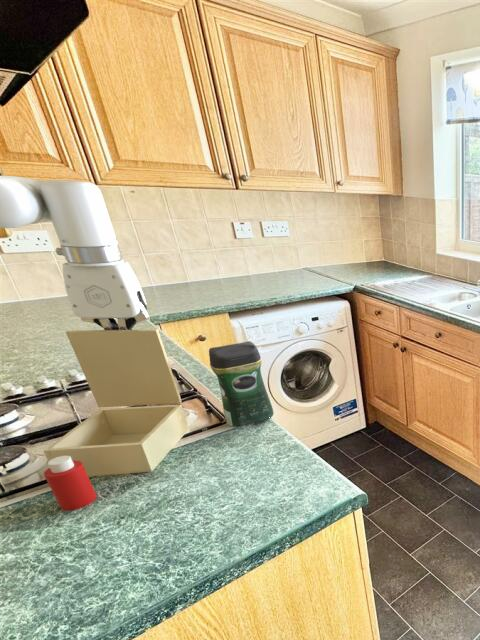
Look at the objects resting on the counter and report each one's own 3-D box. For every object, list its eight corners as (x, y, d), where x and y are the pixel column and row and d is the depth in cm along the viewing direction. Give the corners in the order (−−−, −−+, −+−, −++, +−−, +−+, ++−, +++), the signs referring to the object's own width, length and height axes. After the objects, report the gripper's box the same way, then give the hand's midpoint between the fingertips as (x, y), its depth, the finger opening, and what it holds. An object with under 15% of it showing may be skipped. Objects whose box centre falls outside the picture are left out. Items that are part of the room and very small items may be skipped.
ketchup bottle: (55, 515, 68) (31, 469, 64) (74, 497, 72) (52, 453, 68) (87, 512, 69) (66, 467, 65) (104, 495, 73) (84, 451, 69)
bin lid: (156, 330, 82) (158, 329, 82) (65, 331, 78) (68, 330, 79) (180, 403, 89) (182, 401, 90) (98, 407, 86) (100, 405, 86)
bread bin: (153, 474, 79) (141, 444, 76) (58, 482, 75) (43, 450, 72) (190, 431, 92) (181, 404, 90) (111, 436, 89) (100, 408, 86)
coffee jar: (267, 406, 104) (252, 336, 96) (278, 419, 99) (262, 345, 91) (222, 418, 98) (201, 344, 90) (231, 432, 93) (210, 354, 85)
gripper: (27, 257, 71) (68, 357, 79) (130, 259, 75) (161, 354, 83) (58, 251, 78) (94, 343, 86) (152, 253, 81) (178, 342, 89)
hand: (127, 349), depth 84 cm, fingers closed
